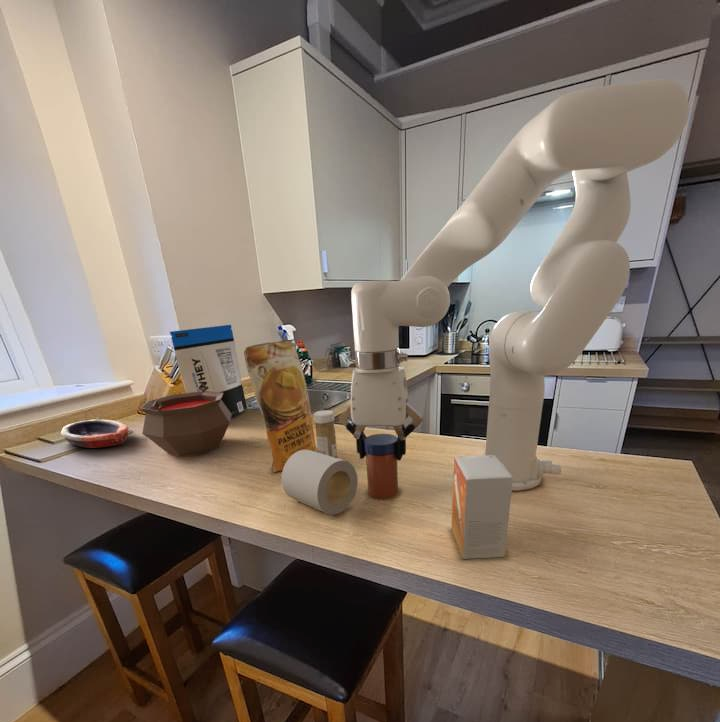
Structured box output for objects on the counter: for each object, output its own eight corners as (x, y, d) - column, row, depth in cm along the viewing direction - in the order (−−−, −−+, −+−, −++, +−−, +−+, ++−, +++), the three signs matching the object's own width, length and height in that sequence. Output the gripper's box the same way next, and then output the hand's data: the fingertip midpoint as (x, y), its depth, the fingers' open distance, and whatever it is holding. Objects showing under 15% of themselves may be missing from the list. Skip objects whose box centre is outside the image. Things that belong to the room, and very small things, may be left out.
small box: (450, 530, 64) (453, 456, 59) (489, 528, 64) (495, 454, 58) (461, 560, 57) (466, 479, 51) (505, 558, 57) (514, 476, 51)
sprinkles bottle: (342, 469, 90) (337, 412, 85) (325, 474, 88) (318, 416, 82) (332, 463, 94) (327, 408, 88) (316, 468, 92) (309, 412, 86)
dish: (105, 427, 138) (100, 413, 136) (145, 441, 120) (140, 425, 118) (54, 440, 127) (48, 426, 125) (90, 458, 109) (83, 441, 107)
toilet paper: (285, 507, 75) (277, 459, 71) (323, 488, 82) (318, 443, 77) (320, 523, 69) (314, 471, 65) (359, 501, 75) (355, 453, 71)
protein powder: (255, 409, 147) (240, 324, 135) (203, 428, 129) (179, 331, 116) (238, 407, 152) (221, 325, 139) (184, 425, 134) (160, 332, 121)
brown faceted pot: (213, 463, 99) (198, 399, 92) (129, 463, 103) (108, 402, 96) (252, 433, 120) (242, 379, 113) (181, 434, 124) (167, 382, 117)
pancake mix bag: (255, 472, 92) (231, 347, 80) (306, 446, 106) (292, 337, 94) (277, 477, 88) (255, 347, 77) (326, 449, 103) (314, 336, 91)
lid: (401, 443, 76) (400, 434, 76) (394, 456, 71) (394, 445, 70) (368, 442, 78) (368, 433, 77) (360, 454, 72) (359, 444, 72)
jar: (400, 486, 80) (399, 436, 76) (395, 500, 75) (393, 447, 70) (372, 484, 82) (369, 435, 77) (364, 498, 76) (361, 446, 72)
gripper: (430, 356, 68) (429, 451, 76) (336, 358, 73) (344, 448, 81) (425, 363, 62) (424, 467, 70) (322, 365, 67) (332, 462, 74)
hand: (381, 456), depth 75 cm, fingers closed on lid, 6 cm apart
